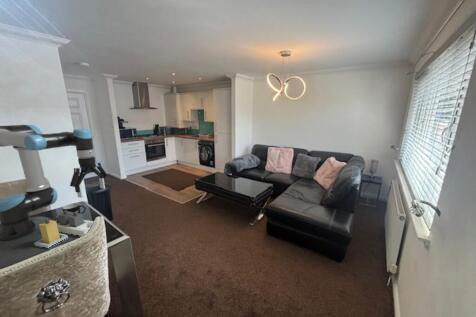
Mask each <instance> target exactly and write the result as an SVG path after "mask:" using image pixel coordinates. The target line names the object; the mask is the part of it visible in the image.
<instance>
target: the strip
mask: <svg viewBox="0 0 476 317" xmlns="http://www.w3.org/2000/svg"><path fill="white" fill-rule="evenodd" d="M63 212H64V213H63ZM80 213H81V212H80ZM80 213H77V212H69V211H67V210H64V211H63V210H62V213H59V214H58V221H59V222H58V223H57V227H58V232H59V233H61V232H62V233H61V234H66V233H67V234H66V235H71V234H73V235H72V236H76V235H79V236H78V237H81V236H83V235H84V234H86V233H87V232H88V230H89V229H90V227H91V225H92V224H93V222H95V221H93V220H88V219H84V216H83V214H84V213H83V214H80Z"/></svg>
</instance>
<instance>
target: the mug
mask: <svg viewBox="0 0 476 317" xmlns="http://www.w3.org/2000/svg"><path fill="white" fill-rule="evenodd" d="M81 207H82V208H83V211H82V212H81ZM86 209H87V208H86V206H85V205H80V203H79V202H73V203H67V204H66V205H64V206H62V209H61V210H62V213H64V212H63V211H64V210H67V211H69V212H77V213H80V214H85V212H86Z"/></svg>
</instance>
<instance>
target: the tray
mask: <svg viewBox="0 0 476 317" xmlns="http://www.w3.org/2000/svg"><path fill="white" fill-rule="evenodd" d="M59 236H60V237H61V238H59V239H57V240H55V241H53V242H52V243H50V244H45V243H43V239H42V238H40V239H39V240H37V241H35V242H34V246H35V247H38V246H39V247H38V248H42V247H45V248H44V249H46V248H49V247H51V246H52V245H54V244H56V243H58V242H60V241H62V240H63V241H65V240H67V239H68V238H69V234H66V233H61V232H59ZM66 238H67V239H66ZM64 239H65V240H64ZM63 241H62V242H63ZM60 243H61V242H60ZM58 244H59V243H58ZM56 245H57V244H56ZM54 246H55V245H54ZM51 248H52V247H51ZM49 249H50V248H49Z"/></svg>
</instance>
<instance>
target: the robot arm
mask: <svg viewBox="0 0 476 317" xmlns="http://www.w3.org/2000/svg"><path fill="white" fill-rule="evenodd" d="M70 146H71V147H73V146H74V147H75V150H76V154H77V155H76V156H77V158H78V159H77V161H78V165H79V167H74V168H73V174H72V178H71V181H70V184H69V187H72V188H73V187H74V190H75V193H76V194H77V195H76V196H77V198H84V195H83V189H82V185H81V184H82V182H83V180H84V178H85V177H86V176H87V175H88V174H90V173H91V174H92V173H94V175H97V176H98V177H99V178H98V180H99V181H98V182H99V187H100V189H103V190H105V189H106V186H105V183H106V178H107V176H108V174H107V172H106V170H105V169H104V168H103V166H102V165H101V162H96V157H95V151H94V142H93V136H92V132H91V129H89V128H77V129H76V128H75V129H73V130H72V131H71V132H69V131H61V132H54V133H43V132H42V131H41V130H40V128H38V126H36V125H33V124H14V125H13V124H12V125H0V147H12V149H14V150H16V151H17V152H18V156H19V160H20V163H21V167H22V170H23V174H24V178H25V181H26V185H27V188H26V189H25V194H24V193H15V194H10V195H6V196H5V197H2V198H0V240H1V241H12V240H16V239H20V238H23V237H26V236H27V235H29V234H32V233H33V232H35V231H36V230H37V224H36V223H35V221H34V220H33V219H32V218H31V216H30V213H33V212H35V211H38V210H41V209H43V208H46V207H49V206H51V205H53V204H55V203H56V201H57V200H58V192H57V190H56V189H55V188H54V187H52V186H51V185H50V184H48V183H47V181H46V176H45V172H44V169H43V165H42V164H43V163H42V159H41V157H40V153H39V151H43V150H48V149H49V150H50V149H57V148H62V147H63V148H64V147H70Z"/></svg>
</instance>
